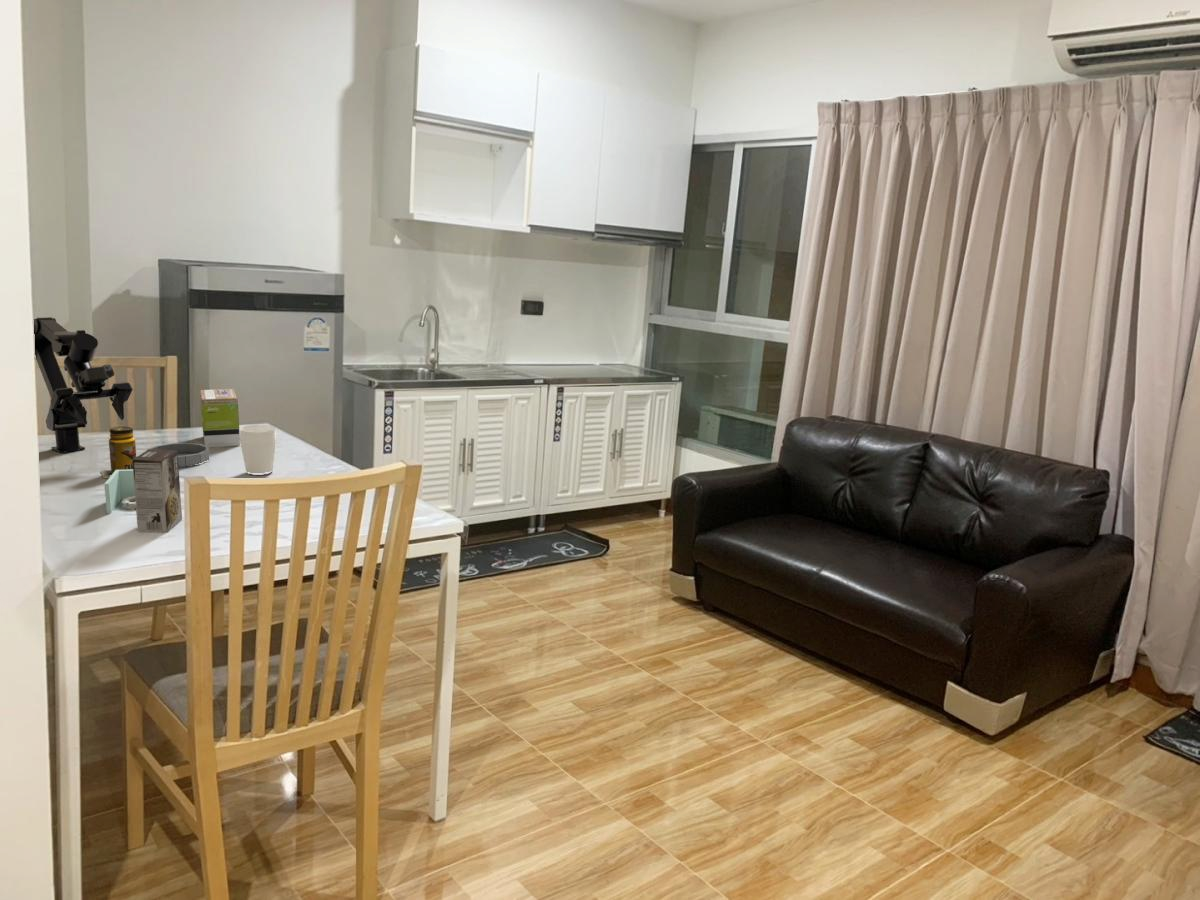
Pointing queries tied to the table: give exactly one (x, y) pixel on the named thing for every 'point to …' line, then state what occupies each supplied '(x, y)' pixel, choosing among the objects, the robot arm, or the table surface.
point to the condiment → (121, 450)
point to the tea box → (220, 418)
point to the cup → (258, 447)
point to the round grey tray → (187, 452)
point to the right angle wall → (120, 490)
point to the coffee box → (157, 490)
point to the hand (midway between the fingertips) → (104, 421)
